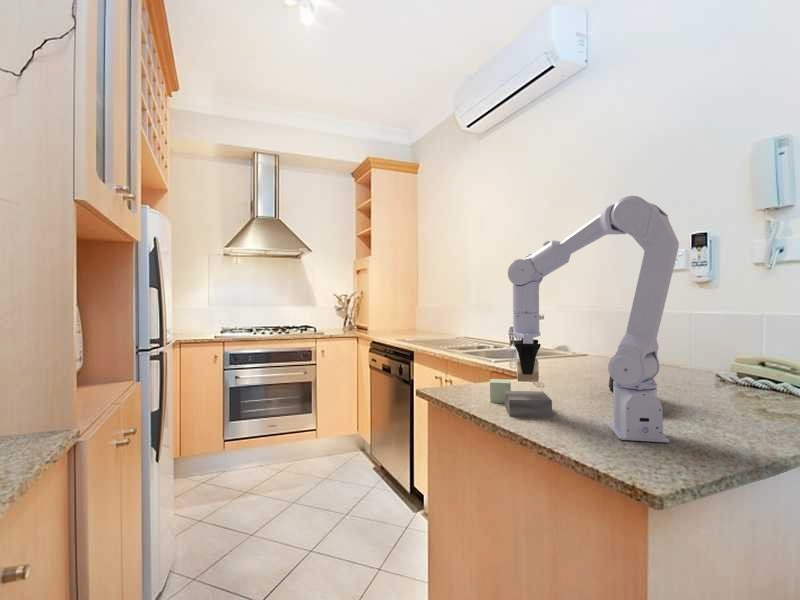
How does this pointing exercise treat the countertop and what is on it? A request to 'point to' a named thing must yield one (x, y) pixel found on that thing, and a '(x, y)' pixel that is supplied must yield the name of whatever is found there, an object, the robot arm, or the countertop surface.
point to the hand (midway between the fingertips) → (526, 372)
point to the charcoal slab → (528, 404)
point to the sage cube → (499, 389)
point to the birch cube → (528, 378)
